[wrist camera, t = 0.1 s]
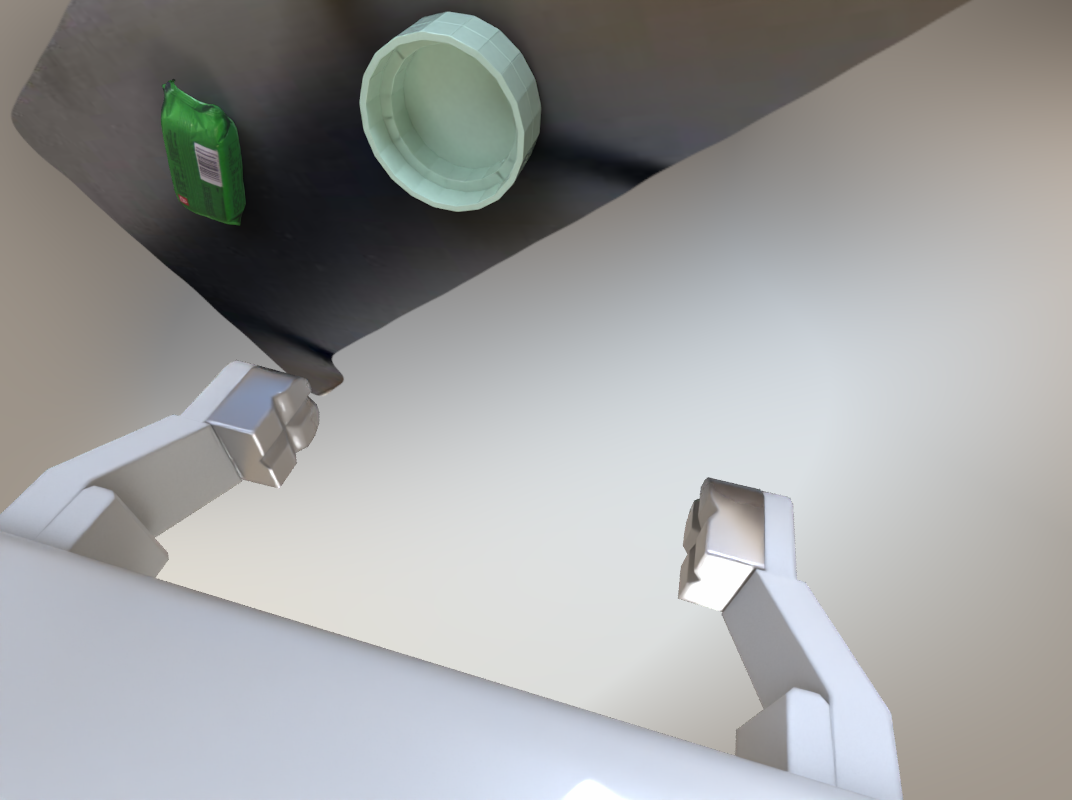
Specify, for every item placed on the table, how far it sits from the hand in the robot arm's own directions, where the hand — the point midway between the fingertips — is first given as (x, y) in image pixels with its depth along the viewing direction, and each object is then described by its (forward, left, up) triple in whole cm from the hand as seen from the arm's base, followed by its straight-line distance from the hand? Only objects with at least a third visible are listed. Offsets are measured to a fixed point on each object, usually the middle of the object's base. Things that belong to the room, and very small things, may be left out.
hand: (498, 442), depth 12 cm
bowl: (+13, -18, -48) cm, 53 cm away
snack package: (+23, -48, -48) cm, 72 cm away
